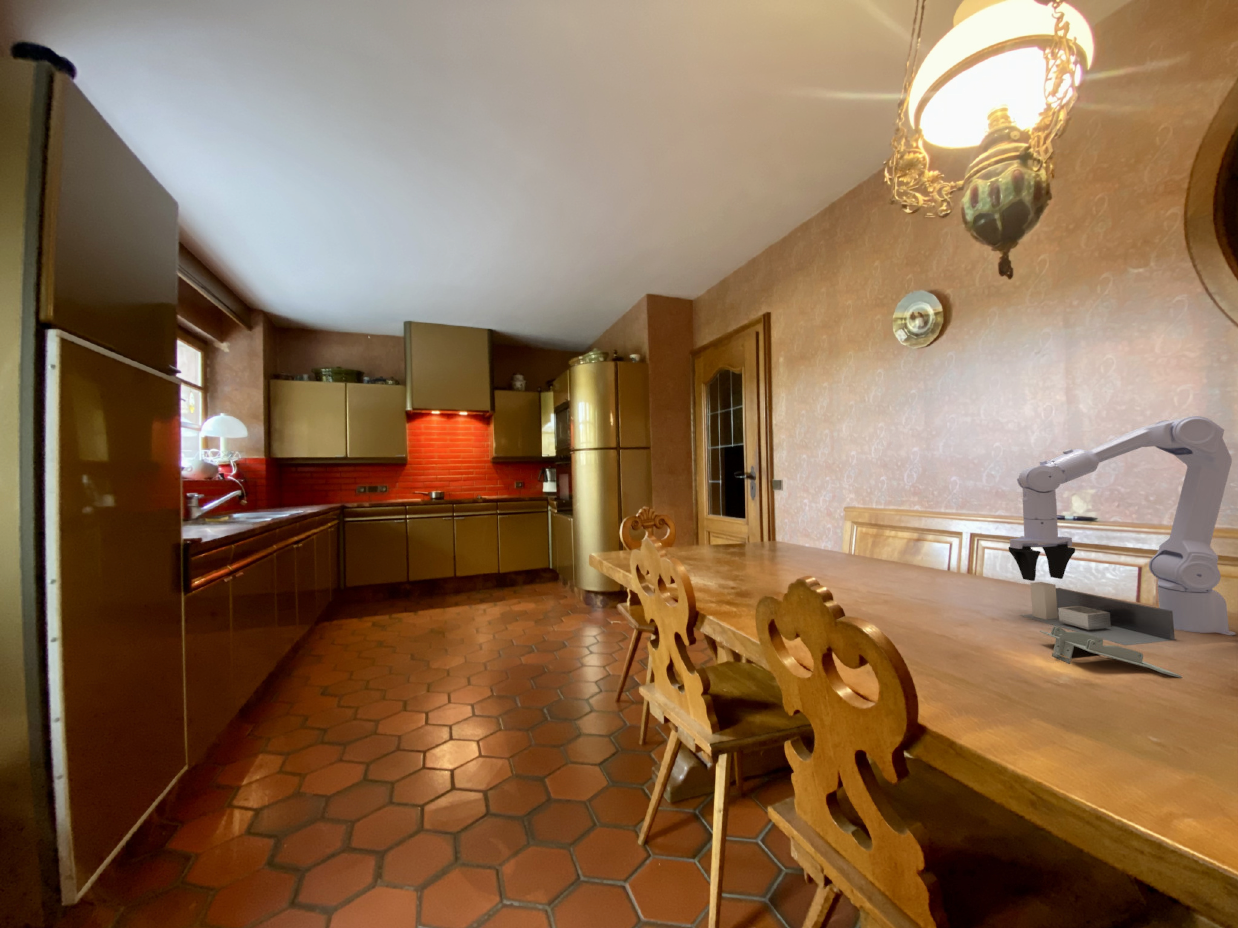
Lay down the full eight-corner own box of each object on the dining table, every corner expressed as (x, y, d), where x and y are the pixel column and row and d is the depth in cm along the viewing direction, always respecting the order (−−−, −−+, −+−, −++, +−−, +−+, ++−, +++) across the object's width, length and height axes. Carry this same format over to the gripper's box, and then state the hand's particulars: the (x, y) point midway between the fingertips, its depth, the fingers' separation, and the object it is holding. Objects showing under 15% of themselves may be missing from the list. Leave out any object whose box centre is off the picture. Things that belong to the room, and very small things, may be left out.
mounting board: (1063, 615, 109) (1062, 611, 109) (1177, 644, 89) (1176, 639, 89) (1019, 619, 107) (1018, 615, 107) (1125, 650, 87) (1125, 645, 87)
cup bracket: (1060, 611, 109) (1059, 587, 109) (1174, 639, 89) (1172, 610, 89) (1025, 614, 107) (1023, 590, 107) (1133, 644, 87) (1130, 614, 88)
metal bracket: (1099, 643, 77) (1028, 616, 92) (1091, 677, 77) (1021, 645, 92) (1193, 668, 75) (1106, 637, 90) (1185, 703, 75) (1099, 666, 90)
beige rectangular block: (1043, 614, 107) (1041, 581, 107) (1057, 618, 104) (1055, 584, 104) (1032, 615, 106) (1030, 582, 107) (1046, 619, 103) (1044, 585, 104)
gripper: (1047, 516, 111) (1050, 573, 110) (996, 518, 108) (998, 576, 108) (1081, 519, 104) (1084, 579, 103) (1027, 521, 101) (1029, 583, 101)
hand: (1042, 578), depth 105 cm, fingers open, 7 cm apart
